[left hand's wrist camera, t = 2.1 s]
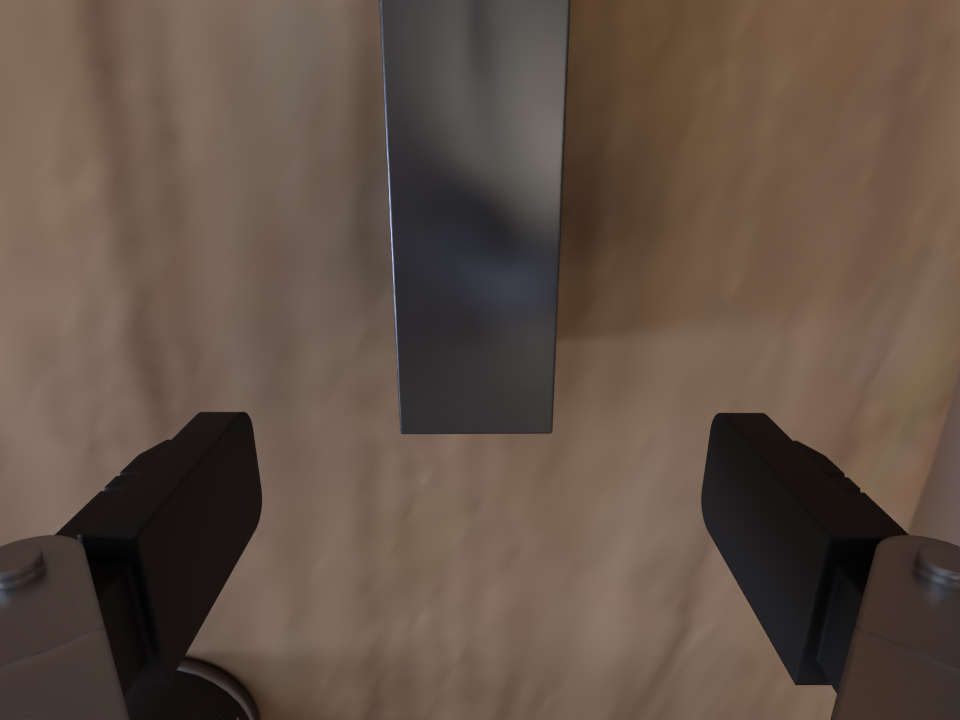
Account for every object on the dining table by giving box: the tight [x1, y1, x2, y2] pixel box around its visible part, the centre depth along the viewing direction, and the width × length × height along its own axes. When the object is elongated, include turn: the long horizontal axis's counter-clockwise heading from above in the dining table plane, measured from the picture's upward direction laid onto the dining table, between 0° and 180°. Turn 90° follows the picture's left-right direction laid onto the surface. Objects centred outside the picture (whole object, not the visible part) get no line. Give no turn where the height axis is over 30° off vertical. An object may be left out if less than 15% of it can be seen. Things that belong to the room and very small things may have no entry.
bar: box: [379, 0, 571, 434], centre depth 20 cm, size 26×5×9 cm, turn 0°
